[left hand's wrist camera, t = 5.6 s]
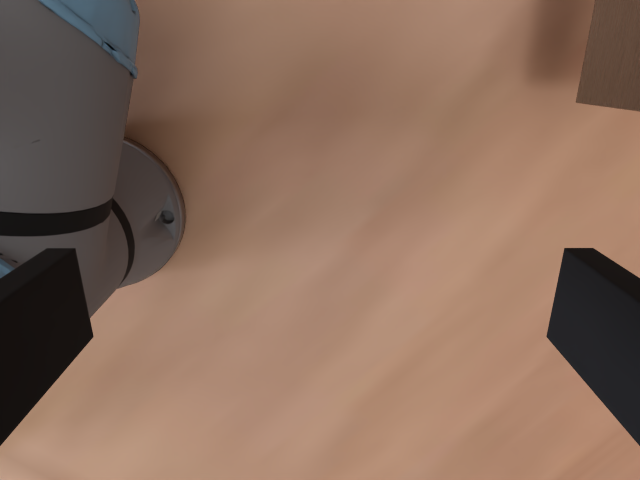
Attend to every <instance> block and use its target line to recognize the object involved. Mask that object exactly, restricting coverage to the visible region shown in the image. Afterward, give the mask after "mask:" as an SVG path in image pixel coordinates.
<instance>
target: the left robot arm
mask: <svg viewBox="0 0 640 480" xmlns="http://www.w3.org/2000/svg"><path fill="white" fill-rule="evenodd" d="M139 24H140V16H139V11H138V7H137V5H136V2H135V0H0V446H1V444H2V443H3V442H4V441H5V440H6V439H7V437H8V436H9V435H10V434H11V433H12V431H13V430H14V429H15V428H16V427H17V426H18V424H19V423H20V422H21V421H22V420H23V419H24V417H25V416H26V415H27V414H28V413H29V412H30V410H31V409H32V408H33V407H34V406H35V405H36V403H37V402H38V401H39V400H40V399H41V398H42V396H43V395H44V394H45V393H46V392H47V391H48V389H49V388H50V387H51V386H52V385H53V383H54V382H55V381H56V380H57V379H58V378H59V376H60V375H61V374H62V373H63V372H64V371H65V369H66V368H67V367H68V366H69V365H70V364H71V362H72V361H73V360H74V359H75V358H76V357H77V355H78V354H79V353H80V352H81V351H82V350H83V348H84V347H85V346H86V345H87V344H88V343H89V341H90V340H91V339H92V338H93V332H92V327H91V322H90V317H91V316H92V315H93V314H94V313H95V312H96V311H97V310H98V309H99V308H100V307H101V305H102V304H103V303H104V302H105V301H106V300H107V299H108V298H109V297H110V296H111V295H112V293H113V292H114V291H115V290H116V289H118V288H121V287H124V286H127V285H131V284H134V283H137V282H139V281H142V280H144V279H146V278H147V277H149V276H151V275H153V274H154V273H156V272H157V271H158V270H160V269H161V268H162V267H163V266H164V265H165V264H166V263H167V261H168V260H169V259H170V258H171V257H172V255H173V254H174V252H175V251H176V250H177V248H178V246H179V244H180V242H181V239H182V236H183V232H184V227H185V207H184V202H183V198H182V194H181V192H180V189H179V187H178V185H177V183H176V181H175V179H174V177H173V176H172V174H171V173H170V171H169V170H168V168H167V167H166V166H165V165H164V164H163V163H162V161H161V160H159V159H158V158H157V157H156V156H155V155H154V154H153V153H152V152H150V151H149V150H148V149H146V148H145V147H143V146H142V145H140V144H138V143H136V142H134V141H132V140H130V139H128V138H125V137H124V133H125V127H126V121H127V115H128V109H129V103H130V97H131V91H132V85H133V79H134V78H135V79H136V78H137V74H138V71H137V68H136V66H135V60H136V51H137V41H138V33H139ZM547 338H548V339H549V340H550V341H551V343H552V344H553V345H554V346H555V347H556V348H557V350H558V351H559V352H560V353H561V354H562V355H563V357H564V358H565V359H566V360H567V361H568V362H569V364H570V365H571V366H572V367H573V368H574V369H575V371H576V372H577V373H578V374H579V375H580V376H581V378H582V379H583V380H584V381H585V382H586V383H587V385H588V386H589V387H590V388H591V389H592V391H593V392H594V393H595V394H596V395H597V396H598V398H599V399H600V400H601V401H602V402H603V403H604V405H605V406H606V407H607V408H608V409H609V410H610V412H611V413H612V414H613V415H614V416H615V417H616V419H617V420H618V421H619V422H620V423H621V424H622V426H623V427H624V428H625V429H626V430H627V431H628V433H629V434H630V435H631V436H632V437H633V439H634V440H635V441H636V442H637V443H638V444H639V446H640V278H638V277H637V276H635V275H634V274H632V273H631V272H629V271H628V270H626V269H625V268H623V267H621V266H620V265H618V264H617V263H615V262H614V261H612V260H611V259H609V258H608V257H606V256H604V255H603V254H601V253H600V252H598V251H597V250H595V249H594V248H564V253H563V258H562V263H561V268H560V273H559V278H558V283H557V288H556V293H555V298H554V303H553V307H552V312H551V317H550V322H549V327H548V332H547Z"/></svg>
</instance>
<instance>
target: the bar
mask: <svg viewBox="0 0 640 480" xmlns="http://www.w3.org/2000/svg"><path fill="white" fill-rule="evenodd" d="M576 103H582V104H589V105H596V106H604V107H611V108H618V109H625V110H633V111H640V0H596V1H595V6H594V11H593V16H592V21H591V26H590V32H589V37H588V42H587V47H586V52H585V57H584V62H583V68H582V73H581V78H580V83H579V88H578V93H577V99H576Z"/></svg>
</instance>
